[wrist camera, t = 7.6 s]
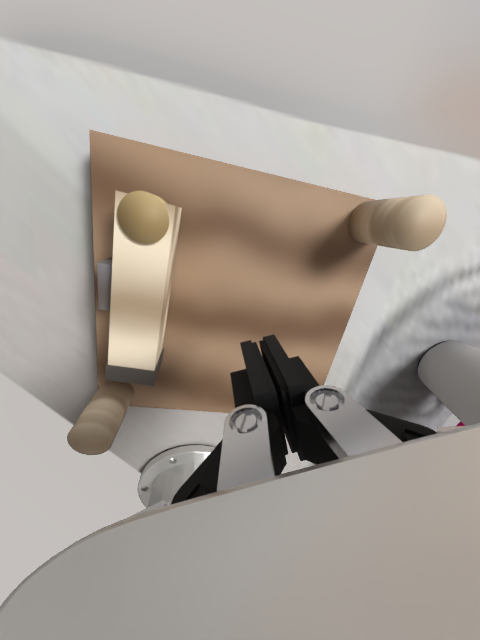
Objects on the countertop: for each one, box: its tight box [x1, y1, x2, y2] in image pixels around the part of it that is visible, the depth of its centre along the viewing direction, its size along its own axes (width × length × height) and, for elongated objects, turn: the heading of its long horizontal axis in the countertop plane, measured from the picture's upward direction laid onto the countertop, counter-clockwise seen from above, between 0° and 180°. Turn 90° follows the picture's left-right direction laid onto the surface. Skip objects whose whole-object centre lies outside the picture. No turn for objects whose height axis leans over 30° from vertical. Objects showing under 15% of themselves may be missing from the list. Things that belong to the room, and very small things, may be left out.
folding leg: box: [105, 191, 182, 386], centre depth 16 cm, size 12×3×3 cm, turn 166°
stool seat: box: [67, 130, 447, 455], centre depth 18 cm, size 20×20×8 cm
